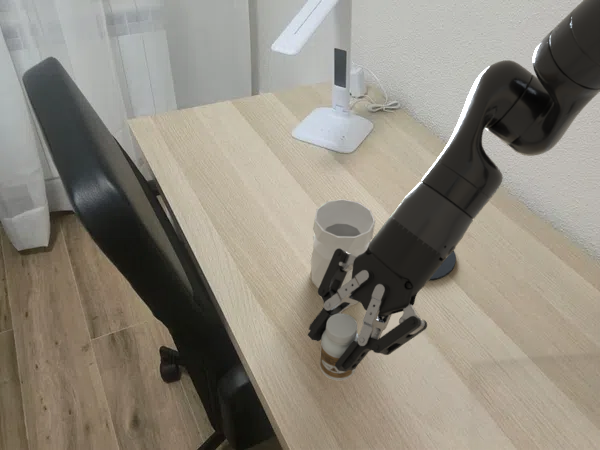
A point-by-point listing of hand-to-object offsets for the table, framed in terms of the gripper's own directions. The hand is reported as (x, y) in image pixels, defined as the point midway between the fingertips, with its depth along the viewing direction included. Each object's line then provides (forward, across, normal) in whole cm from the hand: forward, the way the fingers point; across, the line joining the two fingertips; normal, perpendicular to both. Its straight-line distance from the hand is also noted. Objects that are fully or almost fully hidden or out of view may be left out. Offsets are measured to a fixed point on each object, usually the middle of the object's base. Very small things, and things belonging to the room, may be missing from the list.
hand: (327, 353), depth 62 cm
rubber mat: (-13, -13, +29) cm, 34 cm away
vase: (-3, -16, +19) cm, 25 cm away
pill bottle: (+2, 0, +4) cm, 5 cm away
